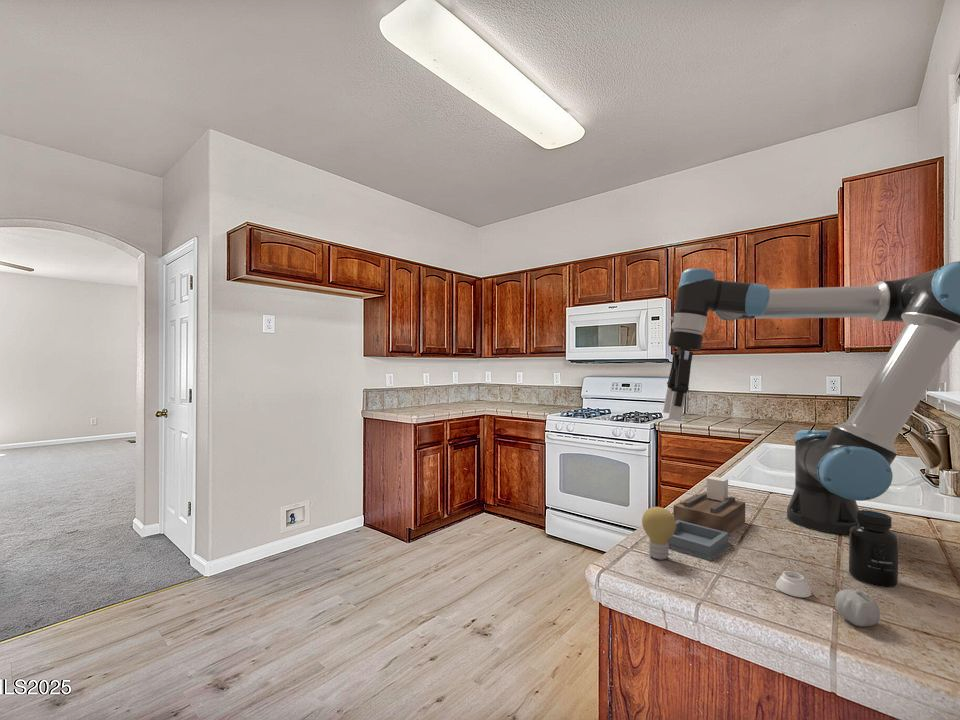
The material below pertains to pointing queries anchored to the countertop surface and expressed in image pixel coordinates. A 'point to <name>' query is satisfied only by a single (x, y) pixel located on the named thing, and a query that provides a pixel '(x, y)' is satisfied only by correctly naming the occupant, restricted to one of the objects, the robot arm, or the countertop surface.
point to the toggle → (717, 488)
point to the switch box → (711, 512)
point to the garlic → (857, 607)
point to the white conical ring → (793, 584)
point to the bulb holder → (699, 540)
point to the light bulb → (658, 530)
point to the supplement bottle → (873, 549)
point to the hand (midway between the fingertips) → (671, 416)
